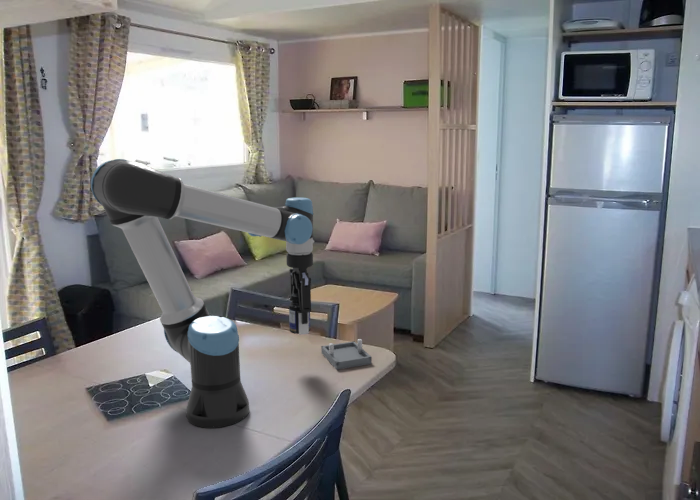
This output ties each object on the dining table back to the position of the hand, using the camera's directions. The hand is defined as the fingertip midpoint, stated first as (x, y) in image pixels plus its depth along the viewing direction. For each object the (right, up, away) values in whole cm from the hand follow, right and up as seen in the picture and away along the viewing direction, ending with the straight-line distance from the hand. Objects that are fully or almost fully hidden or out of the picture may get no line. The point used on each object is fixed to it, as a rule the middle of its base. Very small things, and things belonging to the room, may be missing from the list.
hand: (300, 329), depth 174 cm
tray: (+13, -9, +7) cm, 18 cm away
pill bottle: (0, -1, 0) cm, 1 cm away
